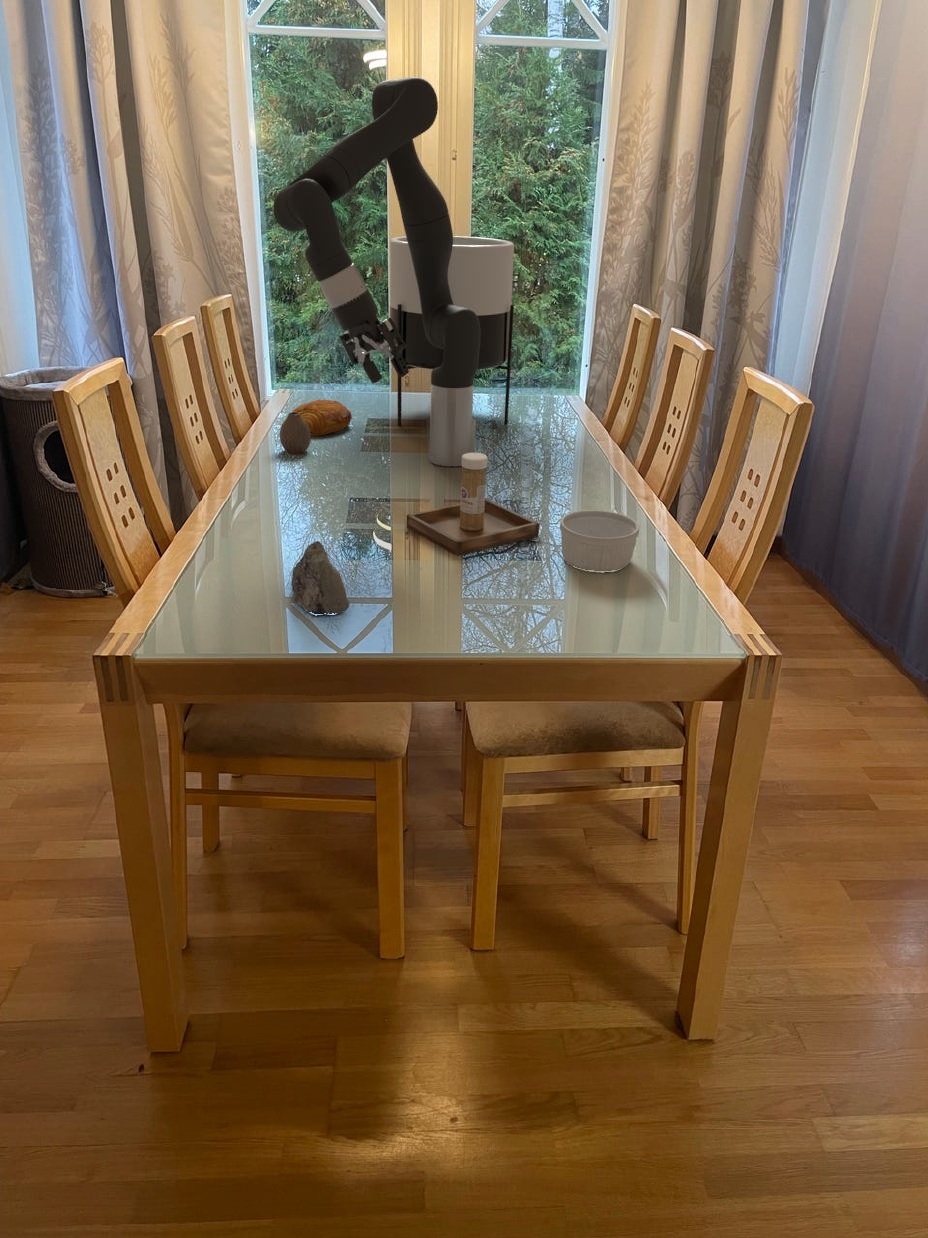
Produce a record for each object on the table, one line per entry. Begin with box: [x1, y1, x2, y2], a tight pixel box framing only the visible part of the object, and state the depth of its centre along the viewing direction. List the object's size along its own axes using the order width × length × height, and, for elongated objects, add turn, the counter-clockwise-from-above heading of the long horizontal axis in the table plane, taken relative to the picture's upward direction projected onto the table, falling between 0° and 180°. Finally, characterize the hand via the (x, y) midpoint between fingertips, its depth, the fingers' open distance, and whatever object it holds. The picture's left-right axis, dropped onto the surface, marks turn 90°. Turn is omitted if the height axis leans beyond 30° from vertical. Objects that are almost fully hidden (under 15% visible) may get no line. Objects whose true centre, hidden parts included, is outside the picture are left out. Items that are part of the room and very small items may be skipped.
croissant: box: [291, 399, 353, 437], centre depth 228 cm, size 14×16×8 cm
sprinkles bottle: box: [459, 452, 489, 531], centre depth 165 cm, size 5×5×14 cm
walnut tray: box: [406, 497, 540, 557], centre depth 167 cm, size 18×16×2 cm
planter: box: [389, 235, 515, 427], centre depth 232 cm, size 31×31×43 cm
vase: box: [279, 411, 312, 455], centre depth 208 cm, size 7×7×9 cm
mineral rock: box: [291, 540, 350, 614], centre depth 138 cm, size 13×11×10 cm
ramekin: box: [559, 509, 640, 571], centre depth 156 cm, size 13×13×7 cm
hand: (390, 378), depth 172 cm, fingers open, 8 cm apart
